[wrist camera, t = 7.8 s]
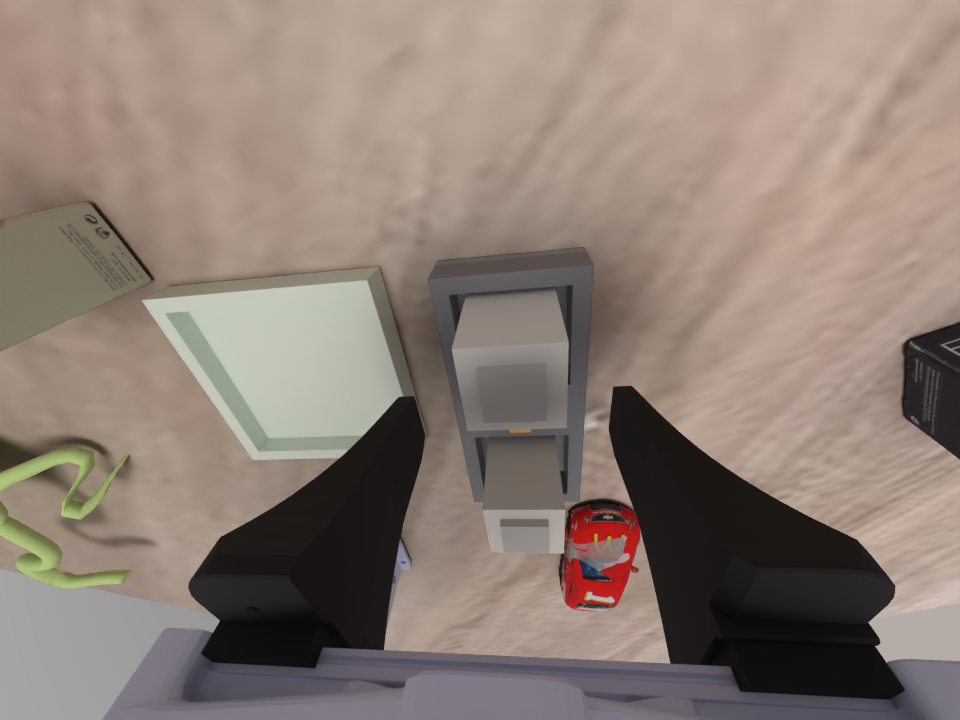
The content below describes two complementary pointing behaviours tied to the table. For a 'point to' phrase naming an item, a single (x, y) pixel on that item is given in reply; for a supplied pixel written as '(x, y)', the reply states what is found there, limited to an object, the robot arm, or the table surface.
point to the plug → (512, 360)
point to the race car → (598, 555)
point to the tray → (291, 356)
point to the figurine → (41, 546)
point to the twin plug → (524, 495)
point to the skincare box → (59, 269)
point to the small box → (935, 386)
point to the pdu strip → (574, 296)
